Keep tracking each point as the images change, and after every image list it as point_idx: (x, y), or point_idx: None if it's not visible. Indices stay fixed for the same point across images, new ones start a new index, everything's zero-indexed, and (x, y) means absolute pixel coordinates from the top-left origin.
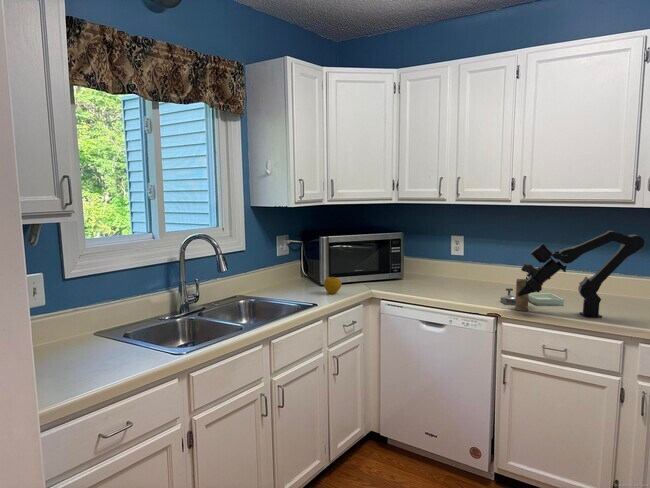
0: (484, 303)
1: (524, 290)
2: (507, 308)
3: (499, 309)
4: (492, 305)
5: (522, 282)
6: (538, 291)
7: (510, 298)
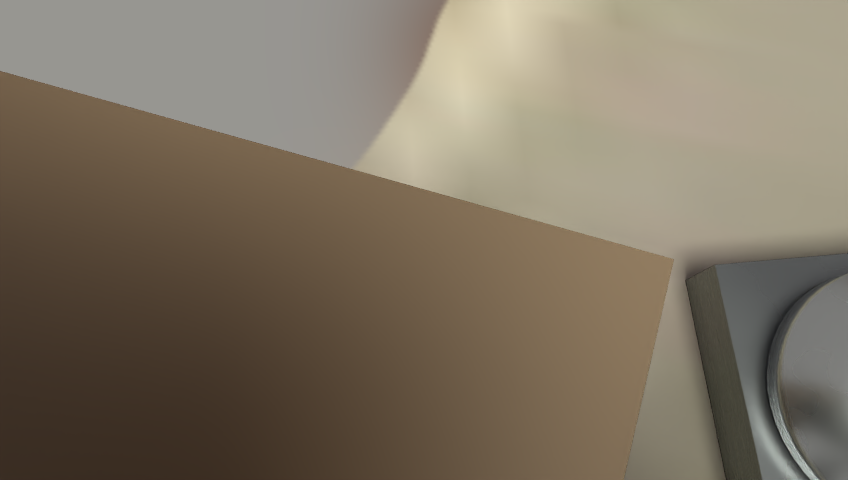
0: (727, 8)
1: None
2: None
3: (403, 123)
4: (623, 84)
5: None
6: None
7: (787, 344)
